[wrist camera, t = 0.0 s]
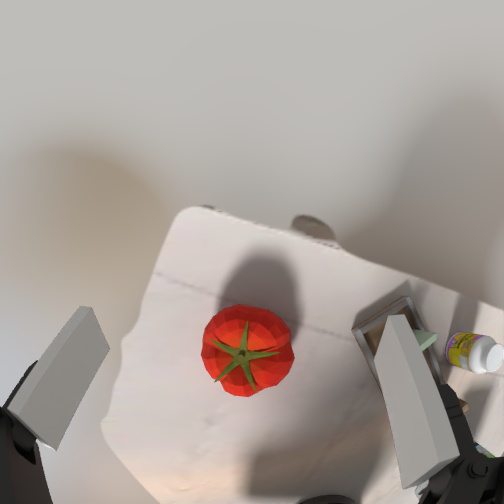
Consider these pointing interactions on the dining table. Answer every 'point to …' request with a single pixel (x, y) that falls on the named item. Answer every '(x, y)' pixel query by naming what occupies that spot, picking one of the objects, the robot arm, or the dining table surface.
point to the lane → (373, 329)
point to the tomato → (247, 349)
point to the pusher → (424, 338)
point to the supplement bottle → (474, 352)
